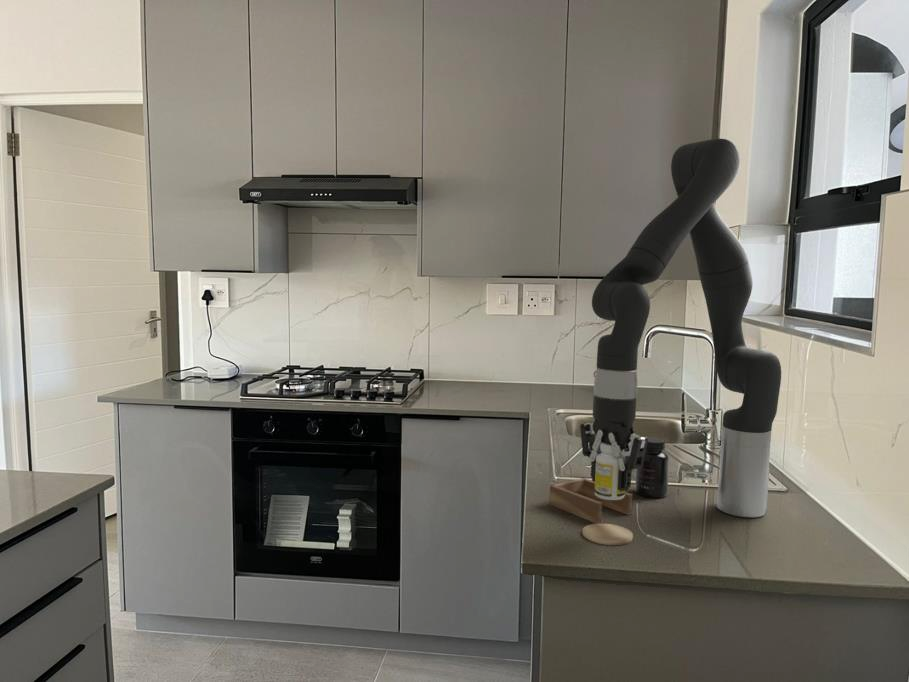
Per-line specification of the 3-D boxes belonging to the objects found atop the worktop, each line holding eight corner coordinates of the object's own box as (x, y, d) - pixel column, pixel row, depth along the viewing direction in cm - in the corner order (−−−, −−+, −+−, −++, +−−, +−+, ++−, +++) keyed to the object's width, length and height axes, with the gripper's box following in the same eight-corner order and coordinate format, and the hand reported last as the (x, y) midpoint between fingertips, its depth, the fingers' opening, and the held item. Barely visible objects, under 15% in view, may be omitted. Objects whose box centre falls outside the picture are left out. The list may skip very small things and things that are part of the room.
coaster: (604, 523, 135) (605, 520, 135) (643, 538, 128) (643, 535, 128) (572, 532, 130) (572, 529, 130) (610, 549, 123) (610, 546, 123)
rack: (582, 496, 151) (583, 477, 151) (631, 514, 141) (632, 494, 141) (549, 504, 145) (550, 485, 145) (597, 524, 135) (598, 503, 134)
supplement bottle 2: (642, 486, 159) (645, 434, 158) (672, 493, 155) (675, 439, 153) (629, 493, 154) (632, 439, 152) (659, 501, 149) (662, 445, 148)
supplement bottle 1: (620, 491, 131) (623, 440, 130) (628, 501, 126) (631, 447, 125) (591, 491, 131) (593, 439, 130) (598, 500, 126) (600, 446, 125)
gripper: (661, 398, 123) (655, 493, 125) (598, 385, 134) (593, 472, 136) (633, 402, 118) (628, 500, 120) (570, 388, 130) (566, 478, 132)
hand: (609, 485), depth 128 cm, fingers closed on supplement bottle 1, 5 cm apart
